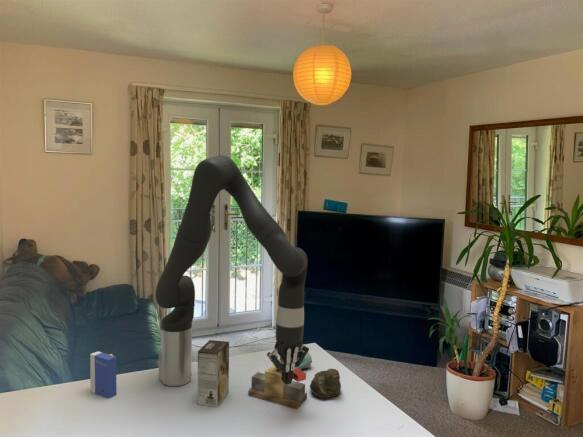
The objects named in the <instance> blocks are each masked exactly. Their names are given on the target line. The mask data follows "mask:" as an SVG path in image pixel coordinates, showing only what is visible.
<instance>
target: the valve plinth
mask: <svg viewBox="0 0 583 437" xmlns="http://www.w3.org/2000/svg"><path fill="white" fill-rule="evenodd" d="M281 377H282V371H281V370H280V371H277V370H276V367H275V365H274V364H273V365H271V366H269V367H268V368H267V369H266V370H265V371H264V372H258V371H257V372H256V373H255V374H254V375H252V376H251V388H250V389H249V390H248V392H247V393H248V396H249V397H252V398H257V399H260V400H264V401H267V402H271V403H275V404H278V405H282V406H285V407H287V408H288V407H289V408H293V409H294V410H295V409H296V410H298V409H299V408H300V407H301V405H302V404H304V402H305V401H306V400H307V397H308V393H307V392H306V384H305V383H303V382H297V381H295V380H292V381H291V383H290V384H287V385H286V384H285V383H283V381H282V380H281Z"/></svg>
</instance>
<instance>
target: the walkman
mask: <svg viewBox="0 0 583 437" xmlns="http://www.w3.org/2000/svg"><path fill="white" fill-rule="evenodd" d="M89 358H90V361H89V362H90V367H89V368H90V369H89V370H90V374H89V376H90V381H89V382H90V393H93V394H94V395H95V394H96V395H99V396H101V397H104V398H107V399H111V398H112V397H115V396H117V356H116V355H114V354H112V353H110V354H109V353H106V352H101V351H96V352H92V353H90V356H89Z"/></svg>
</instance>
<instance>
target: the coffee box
mask: <svg viewBox="0 0 583 437" xmlns="http://www.w3.org/2000/svg"><path fill="white" fill-rule="evenodd" d="M229 373H230V341H223V340H215V339H209V340H208V341H207V342H206V343H205V344H204V345H203V346H201V348H200V349H199V350H197V405H199V406H205V407H211V408H212V407H213V408H219V406H220V404H222V402H223V400H225V398H226V396H228V394H229V391H230V390H229V386H230V385H229V383H230V382H229V381H230V379H229V378H230V374H229Z"/></svg>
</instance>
